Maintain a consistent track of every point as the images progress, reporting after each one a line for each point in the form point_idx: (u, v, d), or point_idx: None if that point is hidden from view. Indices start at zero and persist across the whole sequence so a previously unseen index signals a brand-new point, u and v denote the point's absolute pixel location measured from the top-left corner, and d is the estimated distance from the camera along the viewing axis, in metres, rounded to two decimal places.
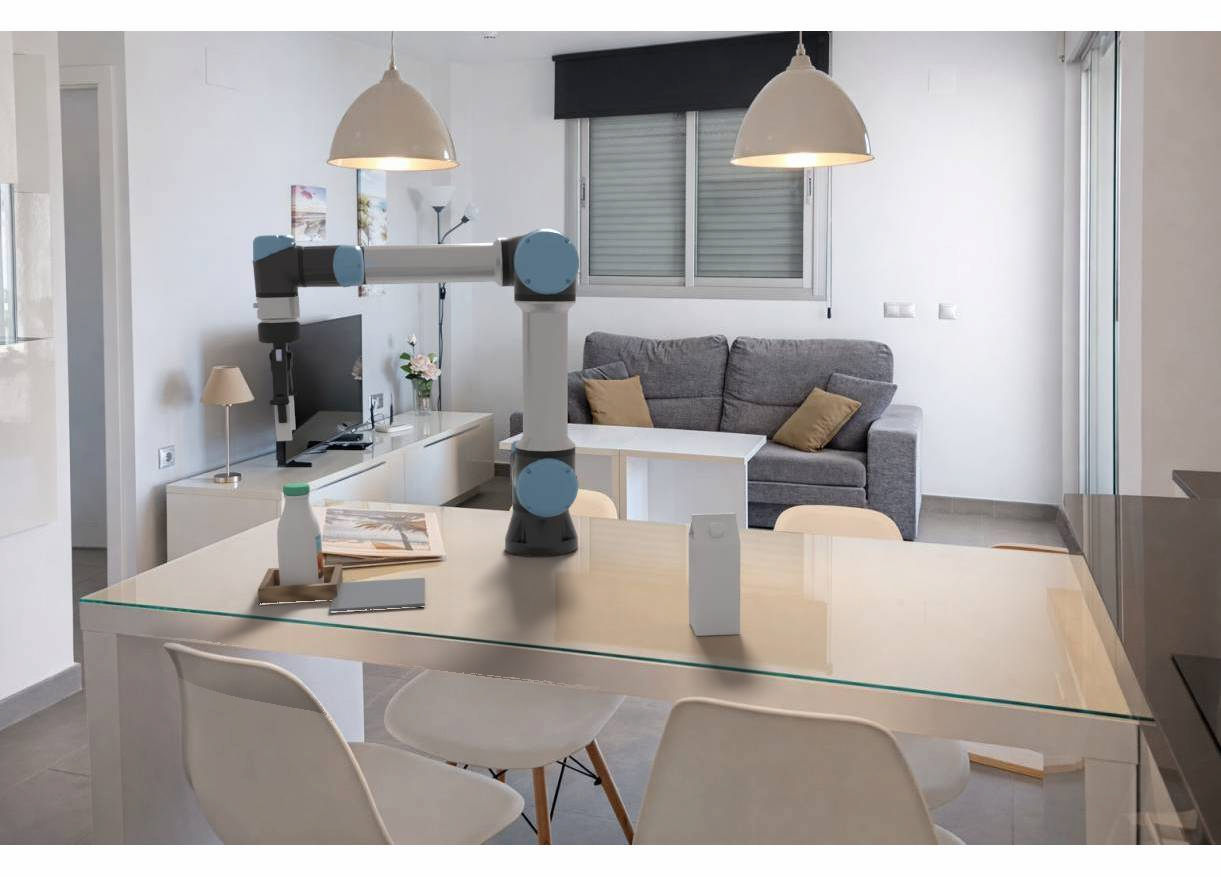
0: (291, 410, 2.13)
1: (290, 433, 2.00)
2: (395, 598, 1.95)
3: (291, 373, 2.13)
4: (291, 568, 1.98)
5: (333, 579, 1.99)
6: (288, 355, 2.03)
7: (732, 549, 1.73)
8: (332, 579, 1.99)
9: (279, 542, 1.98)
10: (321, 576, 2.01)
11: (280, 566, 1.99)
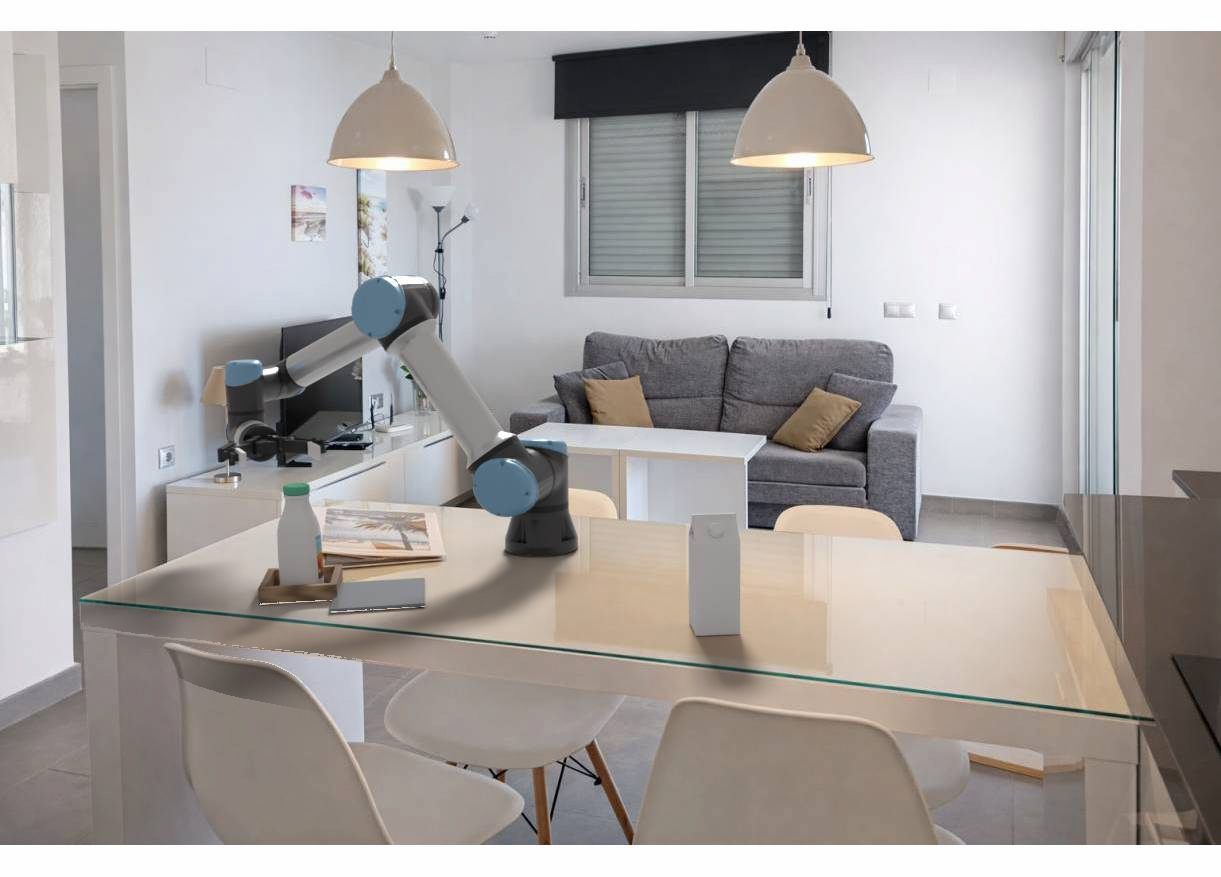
0: (311, 446, 2.13)
1: (240, 453, 2.04)
2: (395, 598, 1.95)
3: None
4: (291, 568, 1.98)
5: (333, 579, 1.99)
6: None
7: (731, 549, 1.73)
8: (332, 579, 1.99)
9: (279, 542, 1.98)
10: (321, 576, 2.01)
11: (280, 566, 1.99)
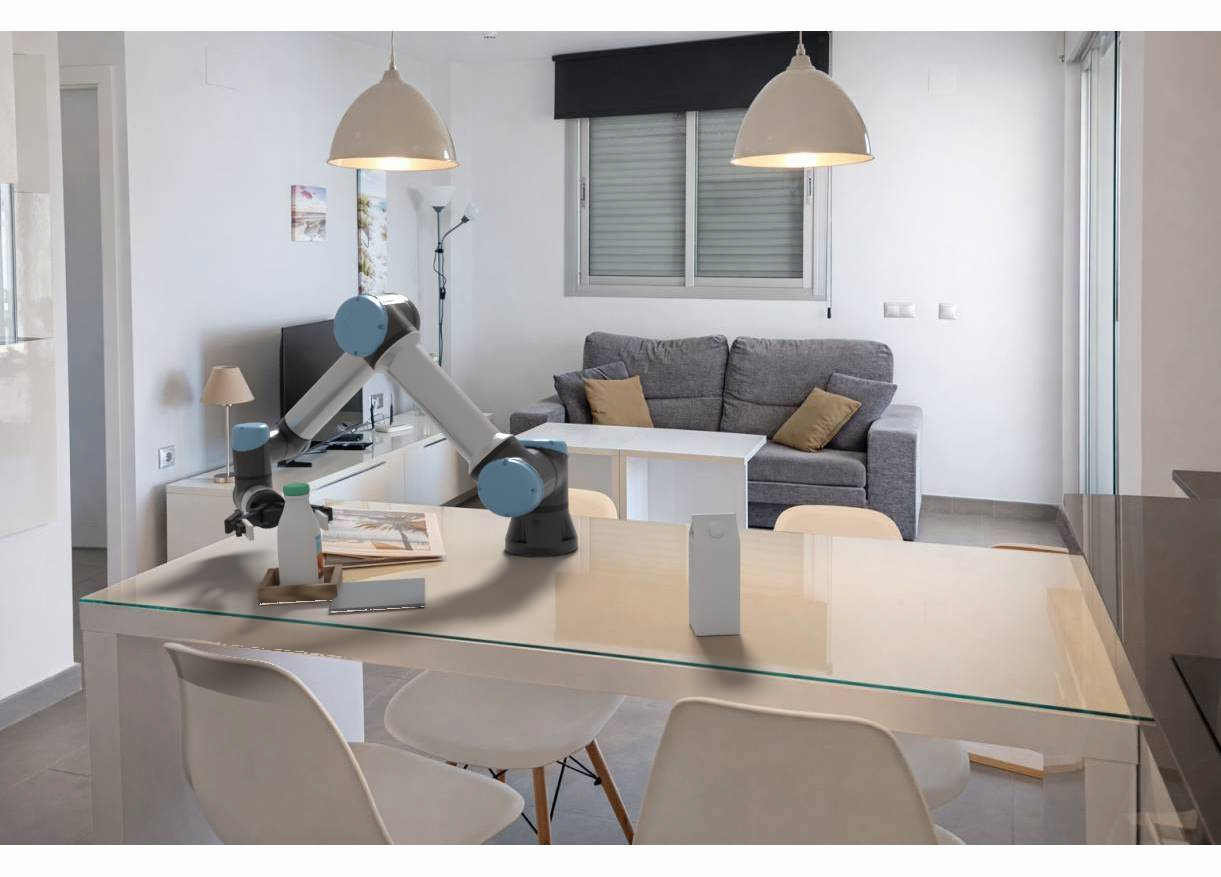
0: (318, 515, 2.11)
1: (247, 525, 2.02)
2: (395, 598, 1.95)
3: (319, 506, 2.18)
4: (291, 568, 1.98)
5: (333, 579, 1.99)
6: None
7: (732, 549, 1.73)
8: (332, 579, 1.99)
9: (279, 542, 1.98)
10: (321, 576, 2.01)
11: (280, 566, 1.99)
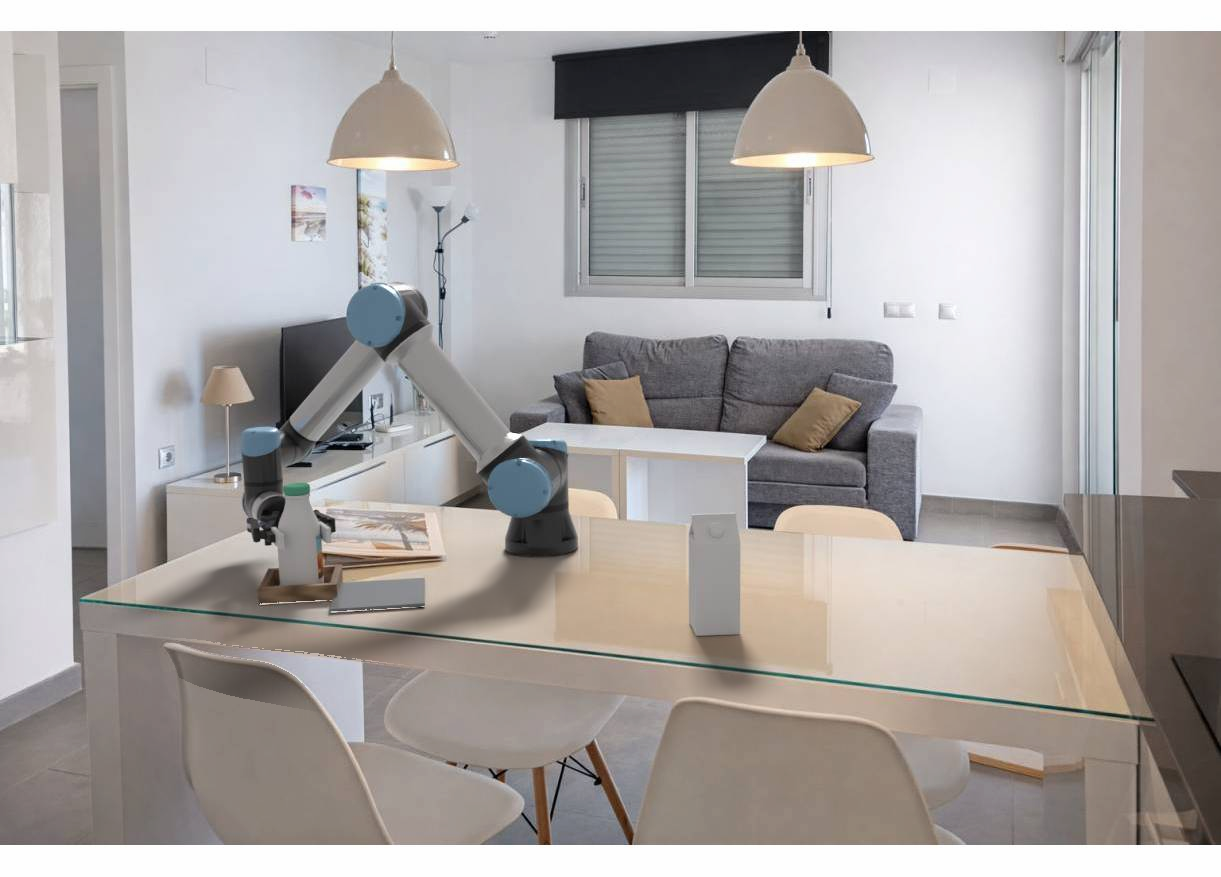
0: (320, 527, 2.01)
1: (277, 534, 1.95)
2: (395, 598, 1.95)
3: (326, 515, 2.08)
4: (292, 568, 1.98)
5: (333, 579, 1.99)
6: None
7: (732, 549, 1.73)
8: (332, 579, 1.99)
9: None
10: (321, 576, 2.01)
11: (280, 566, 1.99)
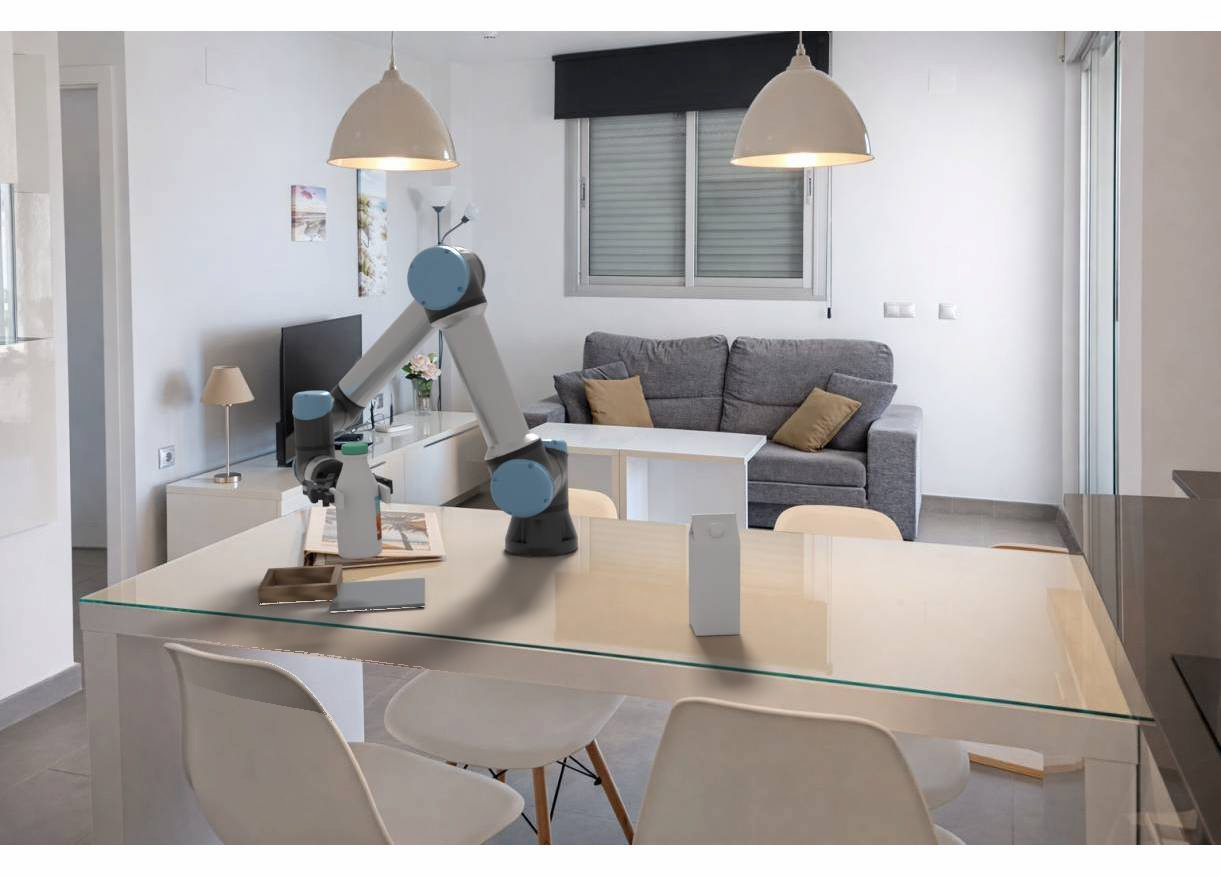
0: (379, 487, 1.97)
1: (337, 494, 1.91)
2: (395, 598, 1.95)
3: (382, 477, 2.04)
4: (351, 529, 1.93)
5: (333, 579, 1.99)
6: None
7: (732, 549, 1.73)
8: (332, 579, 1.99)
9: None
10: (380, 538, 1.97)
11: (338, 527, 1.95)
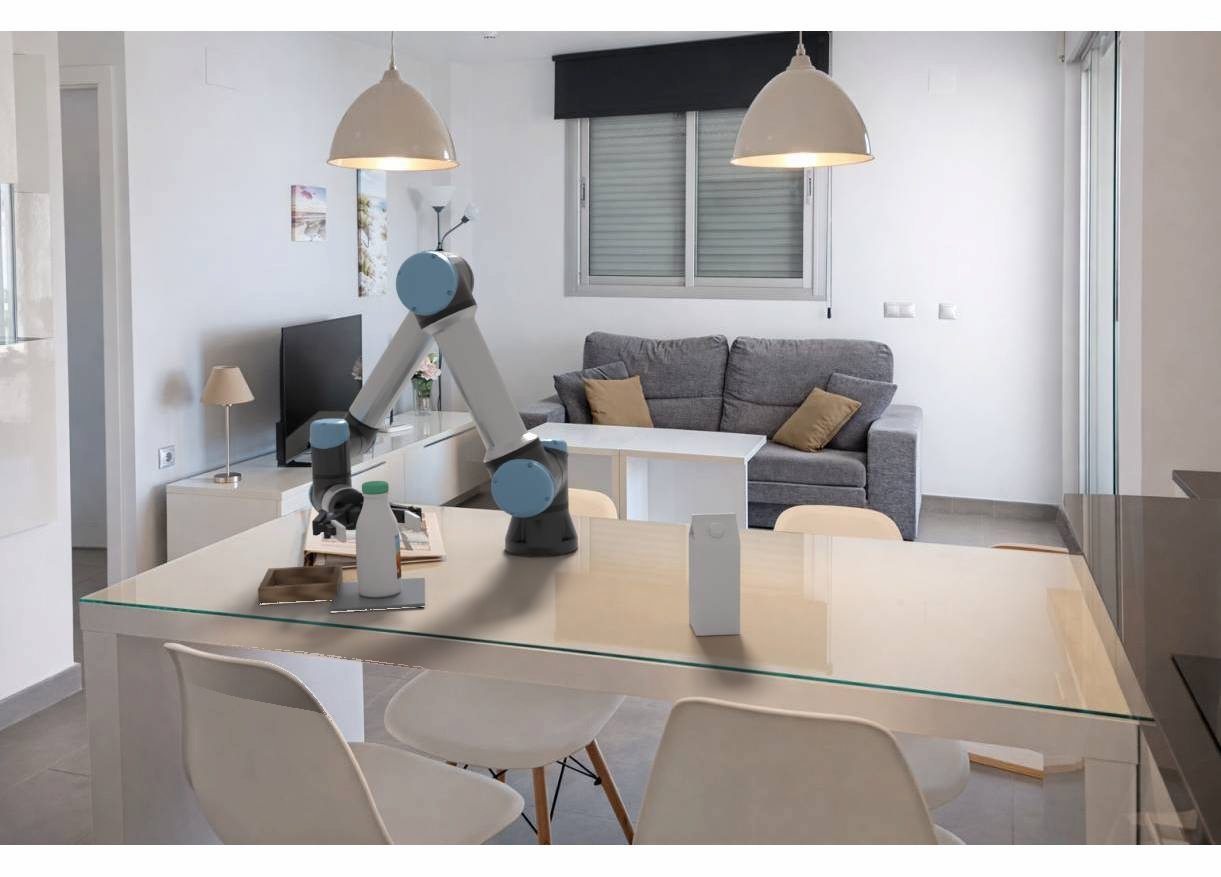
0: (409, 516, 2.00)
1: (339, 527, 1.91)
2: (395, 598, 1.95)
3: (407, 506, 2.07)
4: (371, 567, 1.94)
5: (333, 579, 1.99)
6: None
7: (732, 549, 1.73)
8: (332, 579, 1.99)
9: (358, 541, 1.94)
10: (399, 576, 1.97)
11: (358, 566, 1.95)
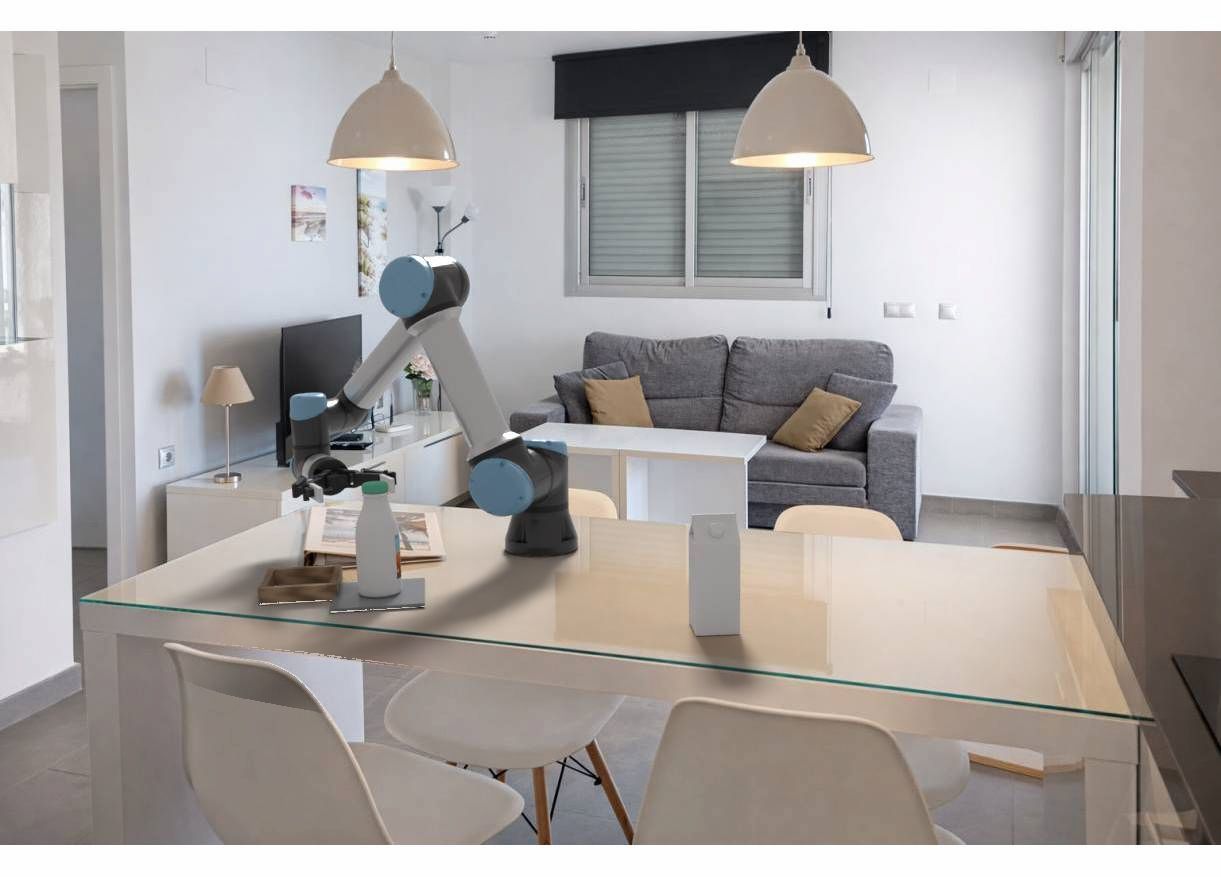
0: (384, 479, 2.12)
1: (316, 488, 2.03)
2: (395, 598, 1.95)
3: (382, 471, 2.19)
4: (371, 567, 1.94)
5: (333, 579, 1.99)
6: None
7: (732, 549, 1.73)
8: (332, 579, 1.99)
9: (358, 541, 1.94)
10: (399, 576, 1.97)
11: (358, 566, 1.95)
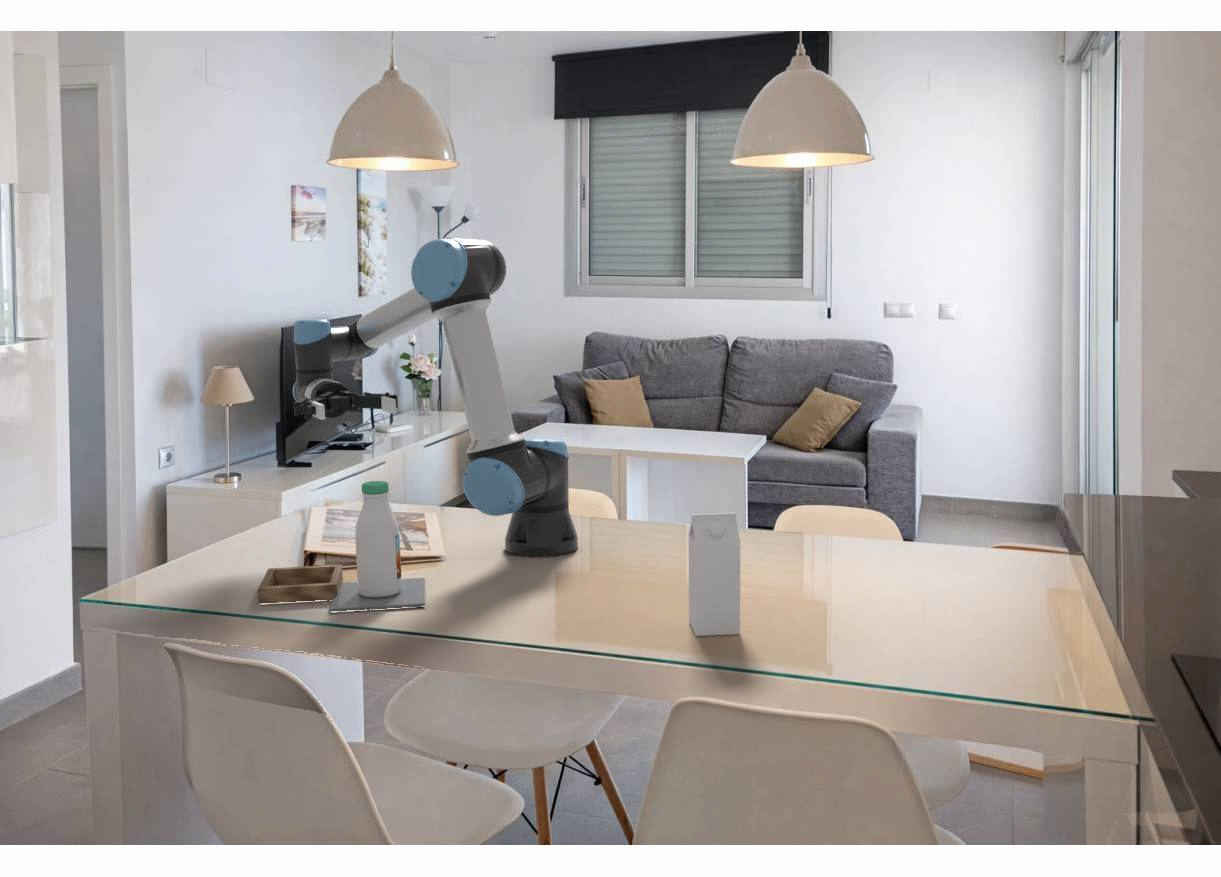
0: (385, 400, 2.14)
1: (318, 405, 2.05)
2: (395, 598, 1.95)
3: (384, 394, 2.21)
4: (371, 568, 1.94)
5: (333, 579, 1.99)
6: None
7: (732, 549, 1.73)
8: (332, 579, 1.99)
9: (358, 541, 1.94)
10: (399, 576, 1.97)
11: (358, 566, 1.95)
